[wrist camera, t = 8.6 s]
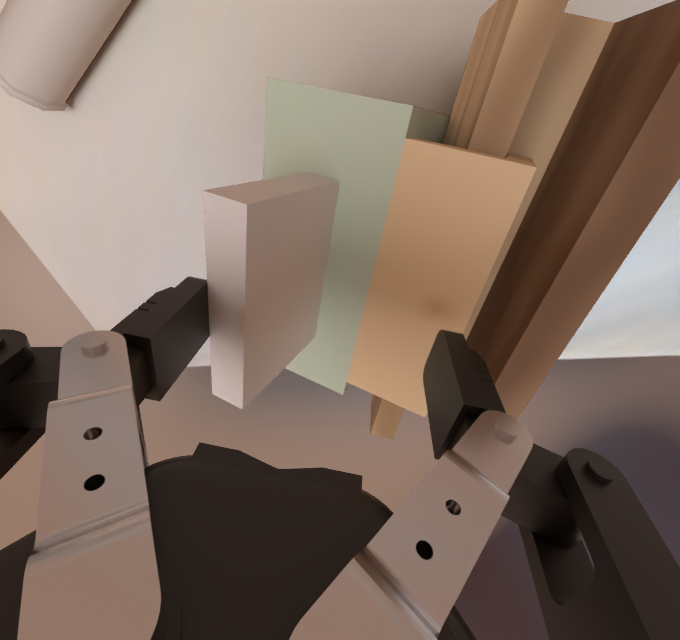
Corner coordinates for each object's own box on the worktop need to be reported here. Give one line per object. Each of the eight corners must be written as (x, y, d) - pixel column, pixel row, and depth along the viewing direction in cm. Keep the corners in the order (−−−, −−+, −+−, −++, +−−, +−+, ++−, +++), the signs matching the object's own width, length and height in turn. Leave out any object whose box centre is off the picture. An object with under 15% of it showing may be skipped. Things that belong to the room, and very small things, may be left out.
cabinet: (537, 134, 18) (582, 129, 6) (449, 339, 26) (383, 537, 13) (361, 99, 21) (127, 44, 9) (327, 293, 29) (176, 419, 16)
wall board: (603, 87, 26) (1025, 46, 9) (486, 325, 38) (571, 502, 21) (442, 53, 26) (556, -54, 9) (375, 302, 37) (369, 461, 21)
